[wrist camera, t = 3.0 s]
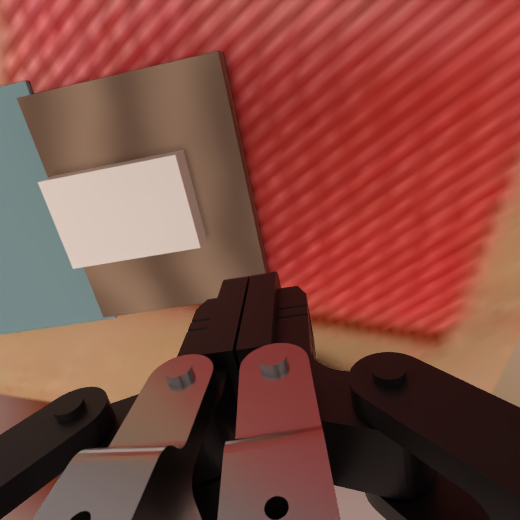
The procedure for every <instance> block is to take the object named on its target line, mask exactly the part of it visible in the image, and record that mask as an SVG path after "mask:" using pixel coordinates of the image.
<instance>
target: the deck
mask: <svg viewBox="0 0 520 520" xmlns="http://www.w3.org/2000/svg"><path fill="white" fill-rule="evenodd" d="M17 101H18V103H19V106H20V108H21V111H22V113H23V116H24V118H25V121H26V123H27V126H28V128H29V131H30V133H31V136H32V139H33V141H34V144H35V146H36V149H37V151H38V154H39V156H40V159H41V161H42V164H43V166H44V169H45V171H46V174H47V176H48V178H50V177H52V176H55V175H60V174H65V173H70V172H75V171H80V170H85V169H90V168H95V167H100V166H105V165H110V164H115V163H120V162H125V161H130V160H135V159H140V158H145V157H150V156H155V155H160V154H164V153H169V152H174V151H179V150H184V154H185V158H186V162H187V166H188V169H189V173H190V177H191V181H192V184H193V188H194V192H195V196H196V200H197V203H198V207H199V211H200V215H201V219H202V222H203V226H204V230H205V234H206V239H205V241H204V243H203V244H202V246H201V248H197V249H191V250H185V251H179V252H173V253H167V254H161V255H155V256H148V257H142V258H136V259H130V260H124V261H118V262H112V263H106V264H100V265H94V266H88V267H84V270H85V272H86V275H87V277H88V280H89V282H90V285H91V287H92V290H93V293H94V295H95V298H96V300H97V303H98V305H99V308H100V310H101V313H102V315H103V318H104V317H111V316H118V315H125V314H132V313H139V312H146V311H153V310H159V309H166V308H173V307H180V306H187V305H194V304H201V303H204V302H205V301H206V300H207V299H213V298H217V297H218V294H219V291H220V288H221V285H222V282H223V280H225V279H232V278H239V277H245V276H250V277H251V275H258V274H264V273H269V269H268V265H267V260H266V255H265V250H264V246H263V241H262V236H261V231H260V227H259V222H258V217H257V212H256V207H255V203H254V198H253V193H252V188H251V184H250V179H249V174H248V169H247V164H246V160H245V155H244V150H243V145H242V141H241V136H240V131H239V126H238V122H237V117H236V112H235V107H234V102H233V98H232V93H231V88H230V83H229V79H228V74H227V69H226V64H225V60H224V55H223V53H221V52H219V51H216V52H212V53H208V54H204V55H199V56H195V57H191V58H186V59H182V60H178V61H173V62H169V63H165V64H161V65H156V66H152V67H148V68H143V69H139V70H135V71H130V72H126V73H122V74H118V75H113V76H109V77H105V78H100V79H96V80H92V81H87V82H83V83H79V84H74V85H70V86H66V87H62V88H57V89H53V90H49V91H44V92H40V93H36V94H31V95H27V96H23V97H19V98H17Z"/></svg>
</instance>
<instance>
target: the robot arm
mask: <svg viewBox="0 0 520 520" xmlns="http://www.w3.org/2000/svg"><path fill="white" fill-rule="evenodd" d="M57 476H58V478H59V479H58V481H57V482H56V484H55V485H54V487H53V489H52V490H51V492H50V493H49V495H48V496H47V498H46V499H45V501H44V502H43V504H42V505H41V507H40V508H39V510H38V511H37V513H36V515H35V516H34V517H33V519H32V520H340V515H339V509H338V504H337V499H336V494H335V489H334V485H336V486H340V487H345V488H349V489H354V490H357V491H362V492H365V494H366V497H367V499H368V501H369V502H370V504H371V505H372V506H373V507H374V508H375V510H377V511H378V512H379V513H380V514H381V515H382V516H383V517H384V518H385V519H386V520H520V408H519V407H517V406H515V405H513V404H511V403H509V402H507V401H505V400H502V399H501V398H498V397H496V396H494V395H492V394H490V393H488V392H486V391H484V390H482V389H479V388H477V387H475V386H473V385H471V384H469V383H467V382H465V381H463V380H461V379H458V378H456V377H454V376H452V375H450V374H448V373H446V372H444V371H442V370H439V369H437V368H435V367H433V366H431V365H429V364H427V363H425V362H423V361H421V360H418V359H416V358H414V357H412V356H409V355H406V354H402V353H396V352H382V353H376V354H372V355H369V356H366V357H364V358H362V359H360V360H359V361H358V362H356V363H355V364H354V365H353V367H352V368H351V370H350V372H347V371H339V370H334V369H330V368H328V367H325V366H323V365H321V364H320V363H318V362H317V361H316V355H315V344H314V337H313V331H312V325H311V320H310V314H309V308H308V302H307V297H306V293H304V292H303V291H302V290H301V289H300V288H299V287H298V286H294V287H287V288H281V286H280V281H279V276H278V273H277V272H271V273H264V274H258V275H251V277H250V276H245V277H239V278H232V279H225V280H223V282H222V285H221V288H220V291H219V294H218V297H217V298H213V299H207V300H206V301H205V302H204V303H203V304H202V305H201V306H200V307H199V308H198V309H197V310H196V312H195V314H194V317H193V319H192V323H191V324H190V327H189V329H188V332H187V334H186V336H185V339H184V341H183V344H182V346H181V348H180V351H179V353H178V356H177V357H176V358H173V359H171V360H168V361H167V362H165V363H163V364H162V365H160V366H159V367H158V368H156V369H155V370H154V371H153V372H152V374H151V375H150V376H149V378H148V380H147V381H146V383H145V385H144V387H143V388H142V390H141V392H140V394H138V395H135V396H132V397H129V398H126V399H123V400H120V401H117V402H114V403H111V404H110V401H109V399H108V397H107V394H106V392H105V391H104V390H103V389H101V388H97V387H85V388H80V389H77V390H74V391H71V392H69V393H67V394H65V395H63V396H61V397H59V398H57V399H56V400H54V401H53V402H51V403H50V404H48V405H46V406H45V407H43V408H42V409H40V410H39V411H37V412H35V413H34V414H32V415H31V416H29V417H28V418H26V419H24V420H23V421H21V422H20V423H18V424H17V425H15V426H13V427H12V428H10V429H9V430H7V431H6V432H4V433H3V434H1V435H0V519H2V518H3V517H4V516H5V515H7V514H8V513H9V512H11V511H12V510H13V509H15V508H16V507H17V506H19V505H20V504H21V503H23V502H24V501H25V500H27V499H28V498H29V497H30V496H32V495H33V494H34V493H36V492H37V491H38V490H39V489H41V488H42V487H44V486H45V485H46V484H48V483H49V482H50V481H51V480H53V479H54V478H55V477H57Z"/></svg>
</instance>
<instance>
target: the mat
mask: <svg viewBox="0 0 520 520" xmlns="http://www.w3.org/2000/svg"><path fill="white" fill-rule="evenodd" d="M31 94H33V91H32V89H31V86H30V83H29V81H22V82H18V83H14V84H10V85H6V86H1V87H0V335H1V334H8V333H15V332H22V331H28V330H35V329H42V328H49V327H56V326H63V325H70V324H77V323H84V322H91V321H98V320H104V319H111V318H116V317H117V316H111V317H104V318H103V315H102V313H101V310H100V308H99V305H98V303H97V300H96V298H95V295H94V293H93V290H92V287H91V285H90V282H89V280H88V277H87V275H86V272H85V270H84V267H82V268H76V269H73V268H72V265H71V263H70V260H69V258H68V255H67V253H66V251H65V248H64V246H63V243H62V241H61V238H60V236H59V233H58V231H57V228H56V226H55V224H54V221H53V219H52V216H51V214H50V211H49V209H48V206H47V204H46V201H45V199H44V197H43V194H42V192H41V189H40V187H39V184H38V182H39V181H42V180H45V179H47V178H48V176H47V174H46V171H45V169H44V166H43V164H42V161H41V159H40V156H39V154H38V151H37V149H36V146H35V144H34V141H33V139H32V136H31V133H30V131H29V128H28V126H27V123H26V121H25V118H24V116H23V113H22V111H21V108H20V106H19V103H18V101H17V98H19V97H23V96H27V95H31Z"/></svg>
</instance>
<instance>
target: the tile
mask: <svg viewBox="0 0 520 520" xmlns="http://www.w3.org/2000/svg"><path fill="white" fill-rule="evenodd" d="M38 184H39V187H40V189H41V192H42V194H43V197H44V199H45V201H46V204H47V206H48V209H49V211H50V214H51V216H52V219H53V221H54V224H55V226H56V228H57V231H58V233H59V236H60V238H61V241H62V243H63V246H64V248H65V251H66V253H67V255H68V258H69V260H70V263H71V265H72V268H73V269H76V268H82V267H88V266H94V265H100V264H106V263H112V262H118V261H124V260H130V259H136V258H142V257H148V256H155V255H161V254H167V253H173V252H179V251H185V250H191V249H197V248H201V246H202V244H203V243H204V241H205V239H206V234H205V230H204V226H203V222H202V219H201V215H200V211H199V207H198V203H197V200H196V196H195V192H194V188H193V184H192V181H191V177H190V173H189V169H188V166H187V162H186V158H185V154H184V150H179V151H174V152H169V153H164V154H160V155H155V156H150V157H145V158H140V159H135V160H130V161H125V162H120V163H115V164H110V165H105V166H100V167H95V168H90V169H85V170H80V171H75V172H70V173H65V174H60V175H55V176H52V177H50V178H47V179H45V180H42V181H39V182H38Z"/></svg>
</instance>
